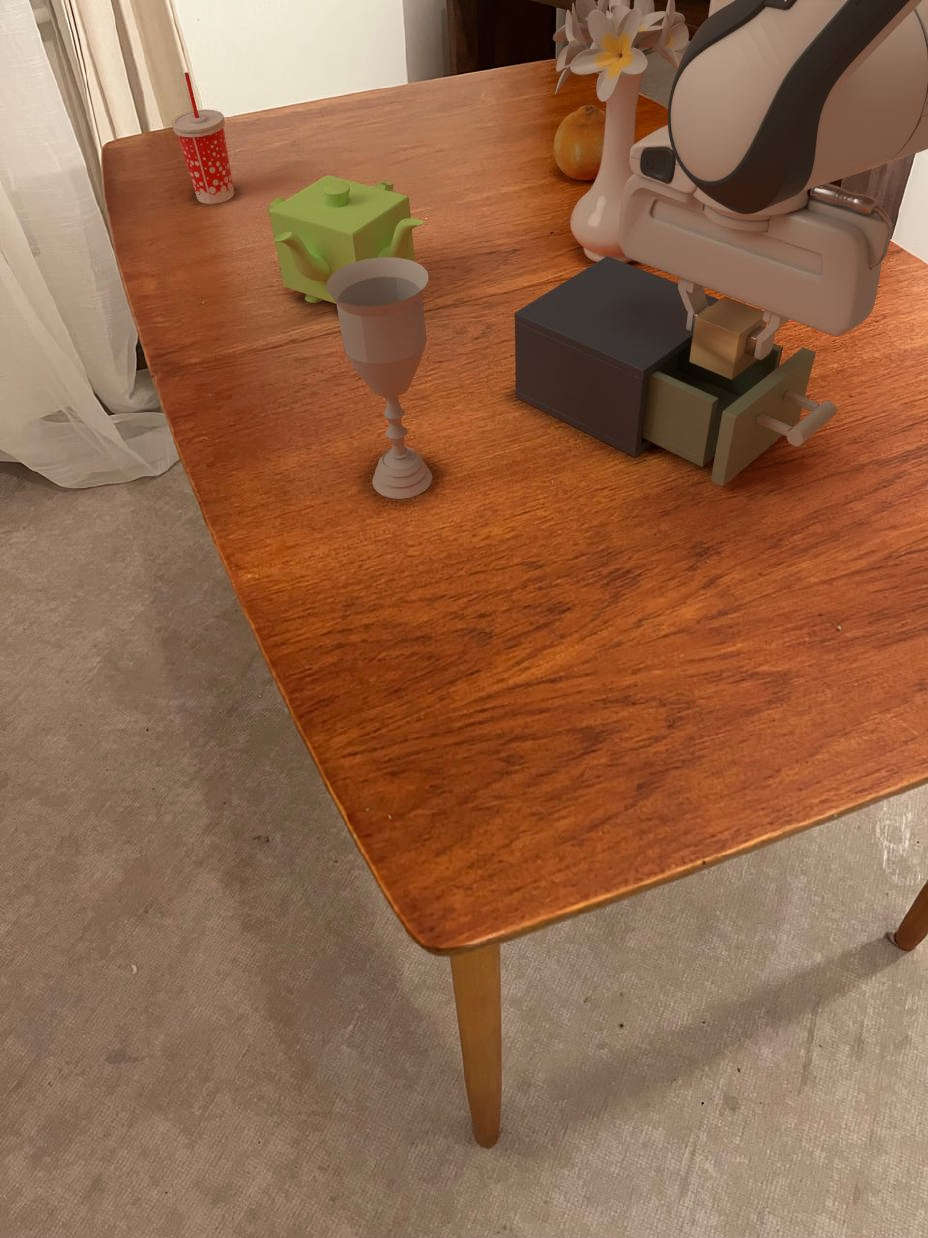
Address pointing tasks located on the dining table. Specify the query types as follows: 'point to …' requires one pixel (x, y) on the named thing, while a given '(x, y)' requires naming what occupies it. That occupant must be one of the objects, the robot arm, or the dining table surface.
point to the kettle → (338, 231)
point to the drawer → (731, 410)
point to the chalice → (386, 352)
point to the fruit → (580, 143)
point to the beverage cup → (205, 151)
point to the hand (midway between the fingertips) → (727, 341)
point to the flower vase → (614, 98)
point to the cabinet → (600, 349)
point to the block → (724, 337)
